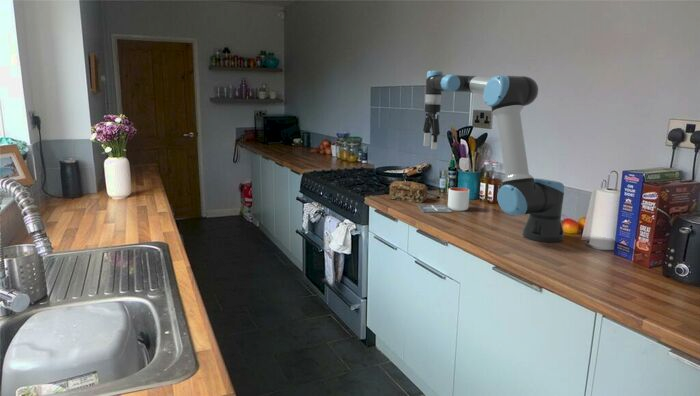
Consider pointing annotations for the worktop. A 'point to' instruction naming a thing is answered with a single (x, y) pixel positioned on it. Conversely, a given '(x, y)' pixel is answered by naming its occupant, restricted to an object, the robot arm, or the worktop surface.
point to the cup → (458, 199)
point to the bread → (408, 191)
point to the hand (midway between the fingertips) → (430, 147)
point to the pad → (434, 209)
